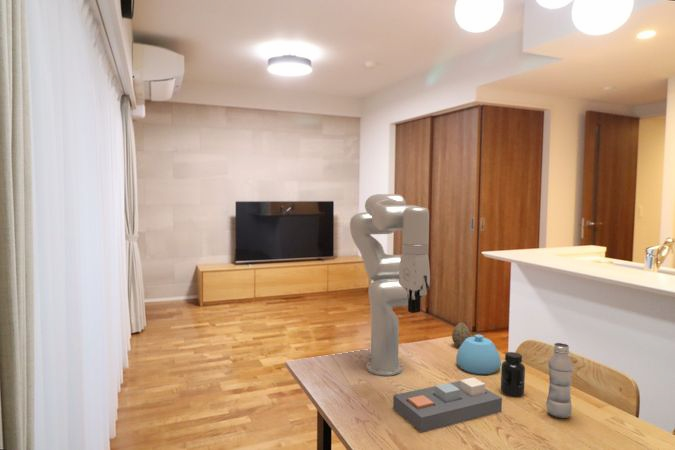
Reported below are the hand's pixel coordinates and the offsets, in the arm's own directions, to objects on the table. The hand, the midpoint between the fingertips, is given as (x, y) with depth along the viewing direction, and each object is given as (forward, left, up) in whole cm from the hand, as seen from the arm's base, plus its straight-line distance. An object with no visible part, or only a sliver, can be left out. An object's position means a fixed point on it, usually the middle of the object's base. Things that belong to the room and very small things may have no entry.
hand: (414, 311), depth 133 cm
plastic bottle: (+24, +32, -27) cm, 48 cm away
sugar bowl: (-12, +35, -27) cm, 46 cm away
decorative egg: (-31, +43, -27) cm, 60 cm away
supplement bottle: (+8, +31, -27) cm, 42 cm away
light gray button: (+9, +5, -25) cm, 27 cm away
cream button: (+9, +14, -25) cm, 30 cm away
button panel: (+9, +5, -27) cm, 29 cm away
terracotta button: (+9, -4, -27) cm, 28 cm away
